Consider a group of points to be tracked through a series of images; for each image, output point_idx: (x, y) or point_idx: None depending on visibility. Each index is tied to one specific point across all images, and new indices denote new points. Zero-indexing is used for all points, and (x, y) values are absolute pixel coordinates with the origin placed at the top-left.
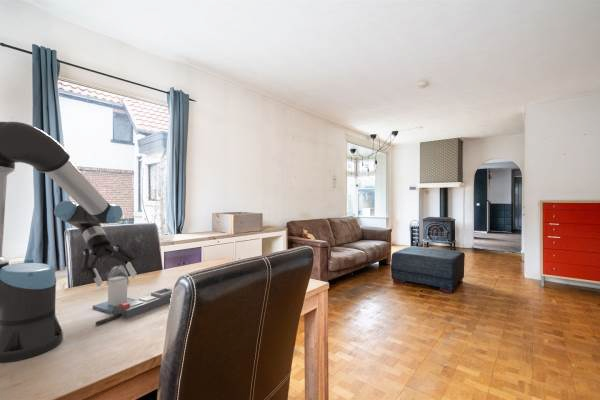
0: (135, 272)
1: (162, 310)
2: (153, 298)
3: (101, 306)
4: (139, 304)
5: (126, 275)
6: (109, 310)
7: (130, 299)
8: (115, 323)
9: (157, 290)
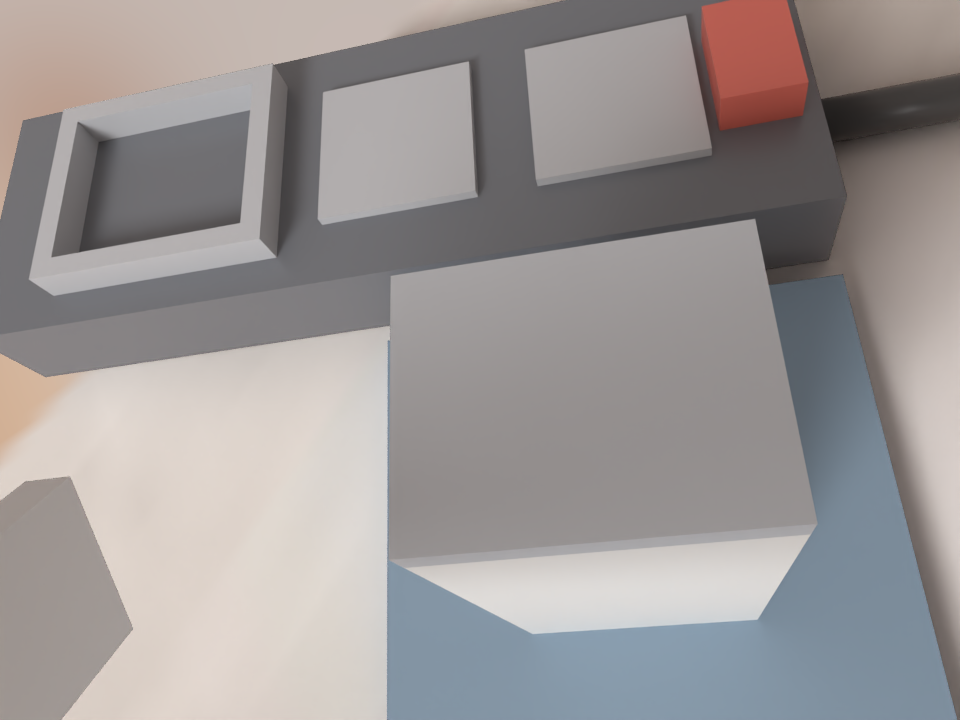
0: (8, 505)
1: (429, 5)
2: (371, 82)
3: (873, 622)
4: (583, 35)
5: None
6: (851, 332)
7: None
8: (918, 4)
9: (155, 257)
